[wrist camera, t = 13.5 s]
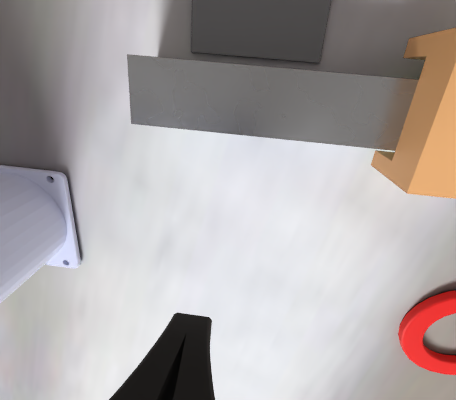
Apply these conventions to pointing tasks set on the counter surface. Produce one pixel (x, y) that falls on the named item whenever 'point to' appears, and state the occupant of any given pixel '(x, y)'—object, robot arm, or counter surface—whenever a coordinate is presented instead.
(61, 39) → the counter surface
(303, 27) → the pad
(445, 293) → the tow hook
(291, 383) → the counter surface
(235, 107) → the rail
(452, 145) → the peach cuboid block
